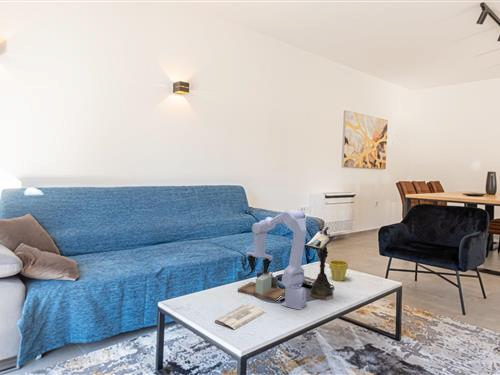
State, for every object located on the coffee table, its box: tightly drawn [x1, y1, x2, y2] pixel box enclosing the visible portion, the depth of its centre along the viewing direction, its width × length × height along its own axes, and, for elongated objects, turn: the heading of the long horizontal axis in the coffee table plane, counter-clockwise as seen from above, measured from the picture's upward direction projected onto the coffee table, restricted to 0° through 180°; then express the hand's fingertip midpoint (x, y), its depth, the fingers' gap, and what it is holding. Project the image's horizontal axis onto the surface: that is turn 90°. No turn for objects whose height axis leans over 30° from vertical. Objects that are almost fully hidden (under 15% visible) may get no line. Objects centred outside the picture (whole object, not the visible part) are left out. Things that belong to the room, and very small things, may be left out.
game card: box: [256, 271, 273, 278], centre depth 195 cm, size 7×5×9 cm
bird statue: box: [304, 226, 336, 301], centre depth 176 cm, size 17×13×35 cm
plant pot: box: [328, 259, 349, 282], centre depth 204 cm, size 10×10×10 cm
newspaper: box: [214, 303, 267, 331], centre depth 153 cm, size 23×12×2 cm, turn 142°
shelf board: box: [237, 275, 285, 302], centre depth 182 cm, size 22×13×7 cm, turn 58°
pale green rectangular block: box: [255, 273, 273, 294], centre depth 180 cm, size 4×9×7 cm, turn 148°
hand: (259, 271), depth 185 cm, fingers open, 7 cm apart
